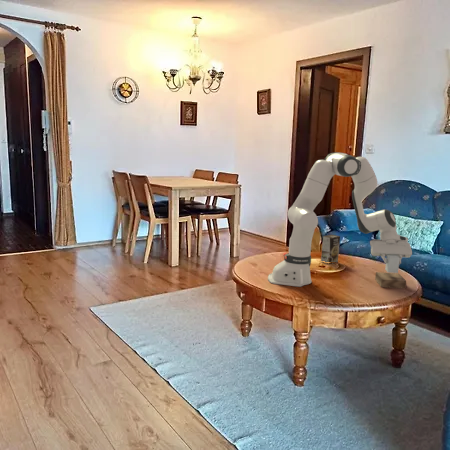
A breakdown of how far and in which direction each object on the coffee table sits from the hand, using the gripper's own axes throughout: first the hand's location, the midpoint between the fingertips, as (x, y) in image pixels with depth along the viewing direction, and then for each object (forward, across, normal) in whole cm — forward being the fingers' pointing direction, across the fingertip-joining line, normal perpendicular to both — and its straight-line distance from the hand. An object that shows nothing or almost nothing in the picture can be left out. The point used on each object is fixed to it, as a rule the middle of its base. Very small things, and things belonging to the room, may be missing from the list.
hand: (392, 263), depth 221 cm
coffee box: (-16, -26, +33) cm, 45 cm away
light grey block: (+3, 0, +4) cm, 4 cm away
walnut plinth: (+8, 0, +8) cm, 11 cm away
